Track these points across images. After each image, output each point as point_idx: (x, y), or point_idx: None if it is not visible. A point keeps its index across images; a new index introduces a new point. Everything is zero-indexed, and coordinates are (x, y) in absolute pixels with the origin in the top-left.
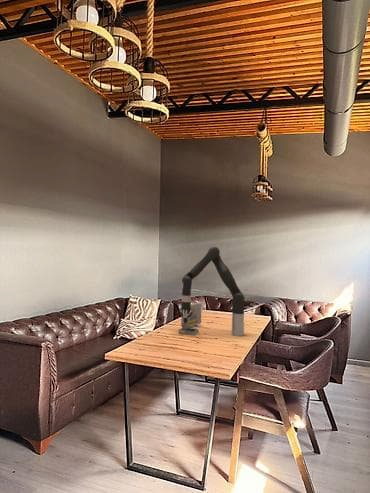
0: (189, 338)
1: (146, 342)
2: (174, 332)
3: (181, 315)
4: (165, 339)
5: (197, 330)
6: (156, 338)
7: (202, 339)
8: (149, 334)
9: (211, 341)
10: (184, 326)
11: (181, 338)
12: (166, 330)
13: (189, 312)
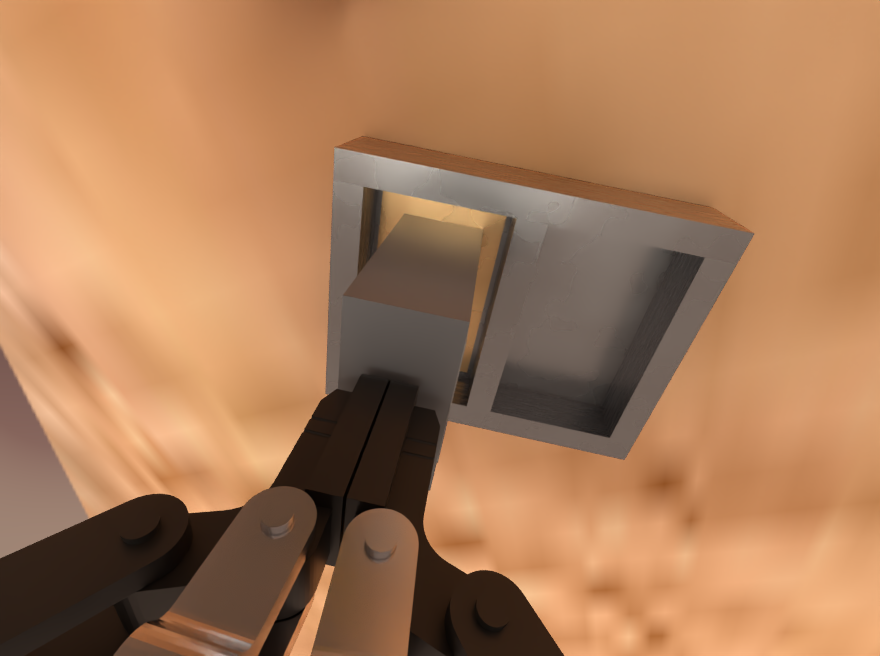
0: (552, 540)
1: None
2: (255, 295)
3: (115, 639)
4: (319, 588)
5: (709, 294)
6: None
7: (728, 557)
8: (68, 464)
9: (838, 610)
10: None
11: (458, 549)
12: (57, 185)
13: None
